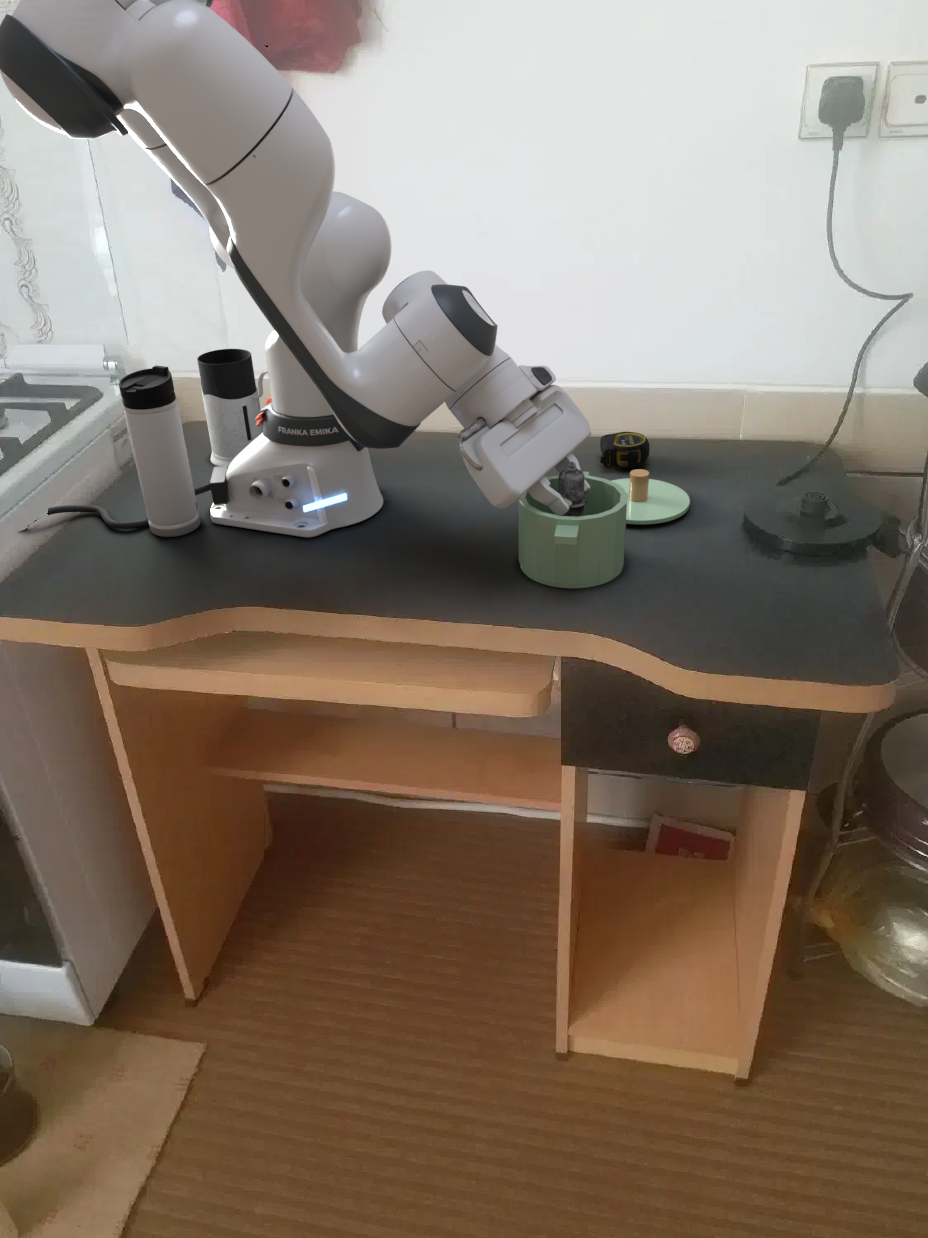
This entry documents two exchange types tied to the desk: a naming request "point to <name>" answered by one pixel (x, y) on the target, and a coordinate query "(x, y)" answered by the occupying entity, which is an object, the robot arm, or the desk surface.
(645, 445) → the tape measure
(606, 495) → the pot
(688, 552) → the desk surface
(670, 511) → the pot lid
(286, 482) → the robot arm
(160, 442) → the travel mug
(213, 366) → the tall handled mug
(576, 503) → the salt shaker
